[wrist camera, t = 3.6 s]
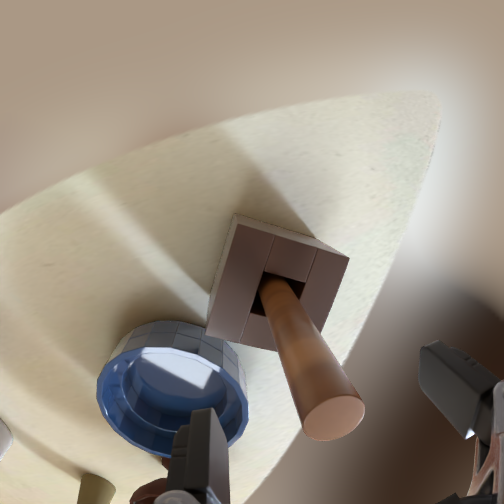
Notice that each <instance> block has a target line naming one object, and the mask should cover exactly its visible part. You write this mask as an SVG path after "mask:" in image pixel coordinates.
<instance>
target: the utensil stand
mask: <svg viewBox="0 0 504 504" xmlns="http://www.w3.org/2000/svg"><path fill="white" fill-rule="evenodd" d="M349 259H350V258H349V257H347V256H345V255H344V254H342V253H340V252H339V251H337V250H335V249H333V248H332V247H330V246H328V245H327V244H325V243H323V242H321V241H320V240H318V239H316V238H313V237H310V236H306V235H303V234H300V233H297V232H294V231H291V230H287V229H284V228H281V227H278V226H275V225H271V224H268V223H265V222H261V221H258V220H255V219H252V218H248V217H245V216H242V215H239V214H235V213H234V215H233V219H232V222H231V225H230V228H229V232H228V235H227V238H226V242H225V245H224V248H223V252H222V255H221V258H220V262H219V265H218V269H217V272H216V276H215V279H214V282H213V286H212V289H211V293H210V297H209V305H208V312H207V320H206V328H205V335H207V336H211V337H215V338H219V339H223V340H227V341H231V342H235V343H240V344H244V345H248V346H252V347H257V348H261V349H266V350H271V351H275V352H278V351H277V348H276V345H275V342H274V339H273V336H272V333H271V329H270V326H269V323H268V320H267V317H266V314H265V311H264V308H263V305H262V301H261V298H260V295H259V292H258V286H259V283H260V280H261V277H262V274H263V270H264V271H265V272H268V273H272V274H276V275H279V276H283V277H284V278H285V280H286V281H287V283H288V284H289V286H290V288H291V289H292V291H293V292H294V294H295V295H296V297H297V298H298V300H299V301H300V303H301V305H302V306H303V308H304V309H305V311H306V312H307V314H308V315H309V317H310V319H311V320H312V322H313V323H314V325H315V326H316V328H317V330H318V331H319V333H320V334H321V331H322V329H323V327H324V324H325V322H326V319H327V317H328V314H329V312H330V309H331V307H332V304H333V302H334V299H335V297H336V294H337V292H338V289H339V286H340V284H341V281H342V278H343V276H344V273H345V270H346V267H347V265H348V262H349Z"/></svg>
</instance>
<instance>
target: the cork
mask: <svg viewBox="0 0 504 504" xmlns="http://www.w3.org/2000/svg"><path fill="white" fill-rule="evenodd" d="M115 491H116V489H115V487H114V486H113V485H112V484H111V483H110V482H109V481H107V480H106V479H104V478H102V477H99V476H97V475H93V474H84V475H83V476H82V480H81V485H80V490H79V496H78V501H77V504H110V502H111V500H112V498H113V496H114V494H115Z"/></svg>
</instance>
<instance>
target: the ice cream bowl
mask: <svg viewBox="0 0 504 504" xmlns="http://www.w3.org/2000/svg"><path fill="white" fill-rule="evenodd" d="M169 463H170V458H167V457H163V456H162V465H163V466H164V467H165V468H166V469H167V470H169ZM166 483H167V478H160V479H157V480H154V481H152V482H150V483H148V484H146V485H143V486H141V487H139V488H138V489H137V490H136V491H135V492H134V493H133V495H132V497H131V499H130V504H153V503H154V501H155V500H156V498H157V497H159V496H160V495H161V494H163V493H165V489H166Z"/></svg>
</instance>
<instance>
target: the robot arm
mask: <svg viewBox="0 0 504 504" xmlns="http://www.w3.org/2000/svg"><path fill="white" fill-rule="evenodd" d="M418 382H419V385H420V388H421V389H422V391H423V392H424V393H425V394H426V396H427V397H428V398H429V399H430V400H431V401H432V402H433V403H434V405H436V407H437V408H438V409H439V410H440V411H441V412H442V414H443V415H444V416H445V417H446V418H447V419H448V420H449V422H450V423H451V424H452V425H453V426H454V427H455V428H456V430H457V431H458V432H459V433H460V434H461V435H462V437H463V438H464V439H465V440H466V439H467V438H469V437H470V436H472V435H473V434H476V435H477V436H478V437H477V440H476V449H475V461H474V470H473V478H472V483H471V486H470V489H469V491H468V495H467V497H462V498H459V497H458V496H457V494H456V493H454V494H452V495H451V496H449V497H447V498H446V499H444V500H442V501H440V502H438V503H437V504H504V380H502V381H501V380H500V379H499V378H498V377H496V376H495V375H494V374H493V373H491V372H490V371H489V370H488V369H486V368H485V367H484V366H482V365H481V364H480V363H478V362H477V361H476V360H475V359H473V358H471V356H469V355H468V354H467V353H466V352H464V351H463V350H461V349H458V348H455V347H450V348H449V347H448V346H447V345H445V344H444V343H443V342H442V341H440V340H436V341H434V342H432V343H429V344H427V345H425V346H423V347H422V348H421V349H420V360H419V373H418ZM172 448H173V449H172V451H171V458H170V463H169V470H168V476H167V483H166V489H165V493H163V494H161V495H160V496H159V497H157V498H156V500H155V501H154V503H153V504H230V485H229V460H228V445H227V440H226V437H225V434H224V432H223V429H222V427H221V425H220V422H219V420H218V417H217V415H216V413H215V410H214V409H213V408H206V409H199V410H193V411H192V412H191V420H190V424H189V425H181V426H180V428H179V429H178V431H177V432H176V434H175V435H174V439H173V445H172Z"/></svg>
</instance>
